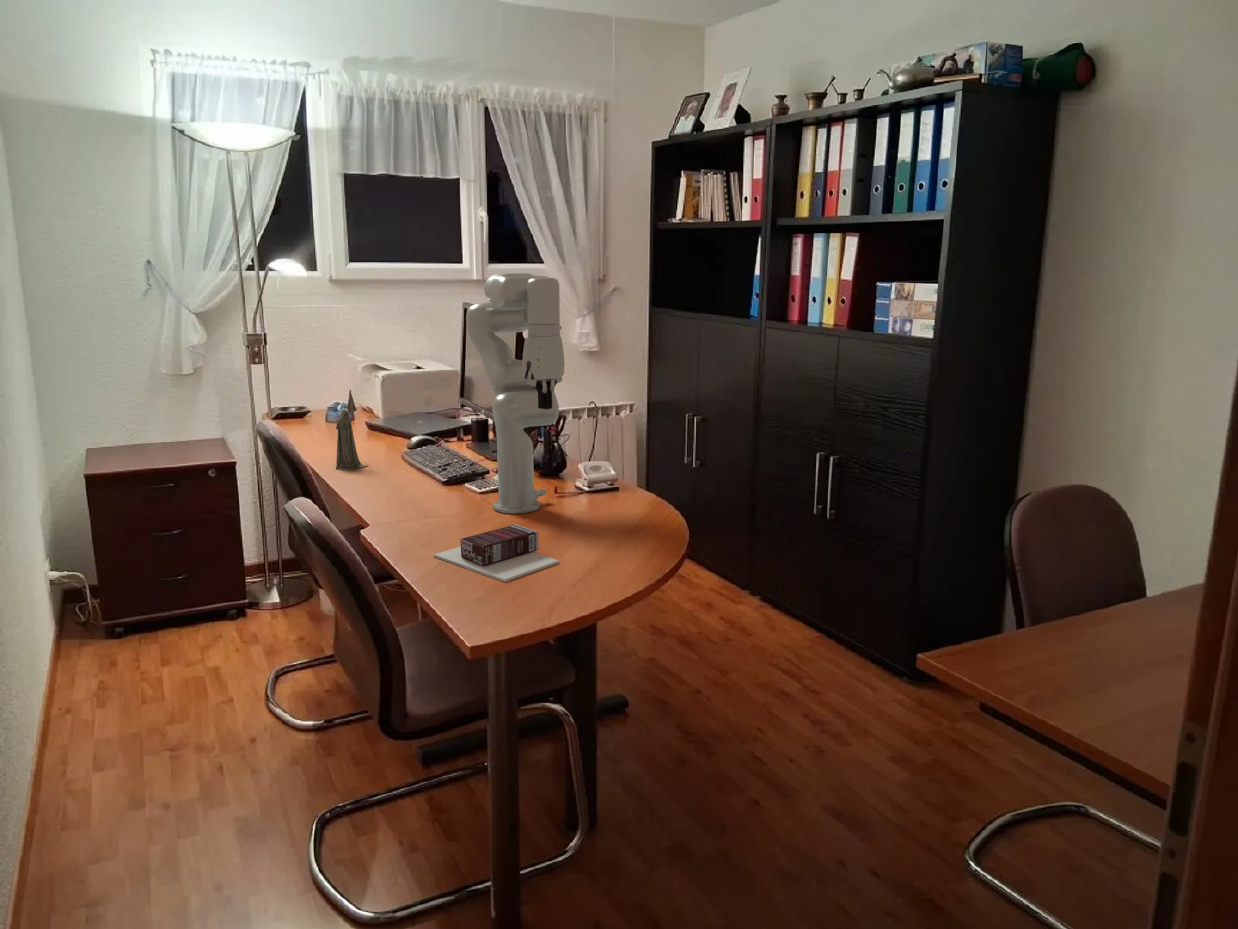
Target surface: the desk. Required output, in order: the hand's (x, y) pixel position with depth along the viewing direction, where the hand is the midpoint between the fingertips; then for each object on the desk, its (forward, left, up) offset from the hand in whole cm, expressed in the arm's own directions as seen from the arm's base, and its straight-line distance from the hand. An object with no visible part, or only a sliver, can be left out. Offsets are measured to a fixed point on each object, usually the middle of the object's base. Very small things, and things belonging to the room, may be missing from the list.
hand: (545, 408), depth 215 cm
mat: (+22, +6, -31) cm, 39 cm away
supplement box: (+12, +6, -28) cm, 31 cm away
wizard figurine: (-7, -97, -31) cm, 102 cm away
